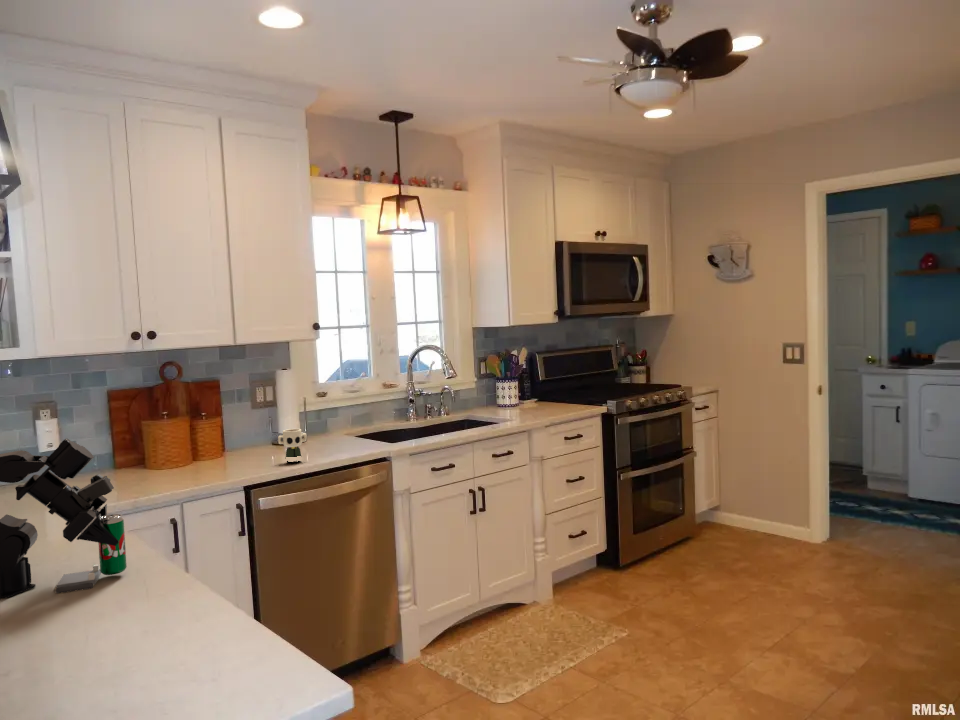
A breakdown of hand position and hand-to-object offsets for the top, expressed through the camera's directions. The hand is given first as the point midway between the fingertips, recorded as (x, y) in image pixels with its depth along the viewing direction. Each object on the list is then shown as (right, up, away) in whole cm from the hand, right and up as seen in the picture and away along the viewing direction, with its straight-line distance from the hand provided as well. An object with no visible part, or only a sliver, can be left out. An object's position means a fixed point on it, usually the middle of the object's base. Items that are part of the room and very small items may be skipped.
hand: (119, 540), depth 151 cm
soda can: (-1, -7, 0) cm, 7 cm away
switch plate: (-7, -8, -2) cm, 11 cm away
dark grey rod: (-5, -8, -7) cm, 13 cm away
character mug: (+4, -2, +125) cm, 126 cm away
